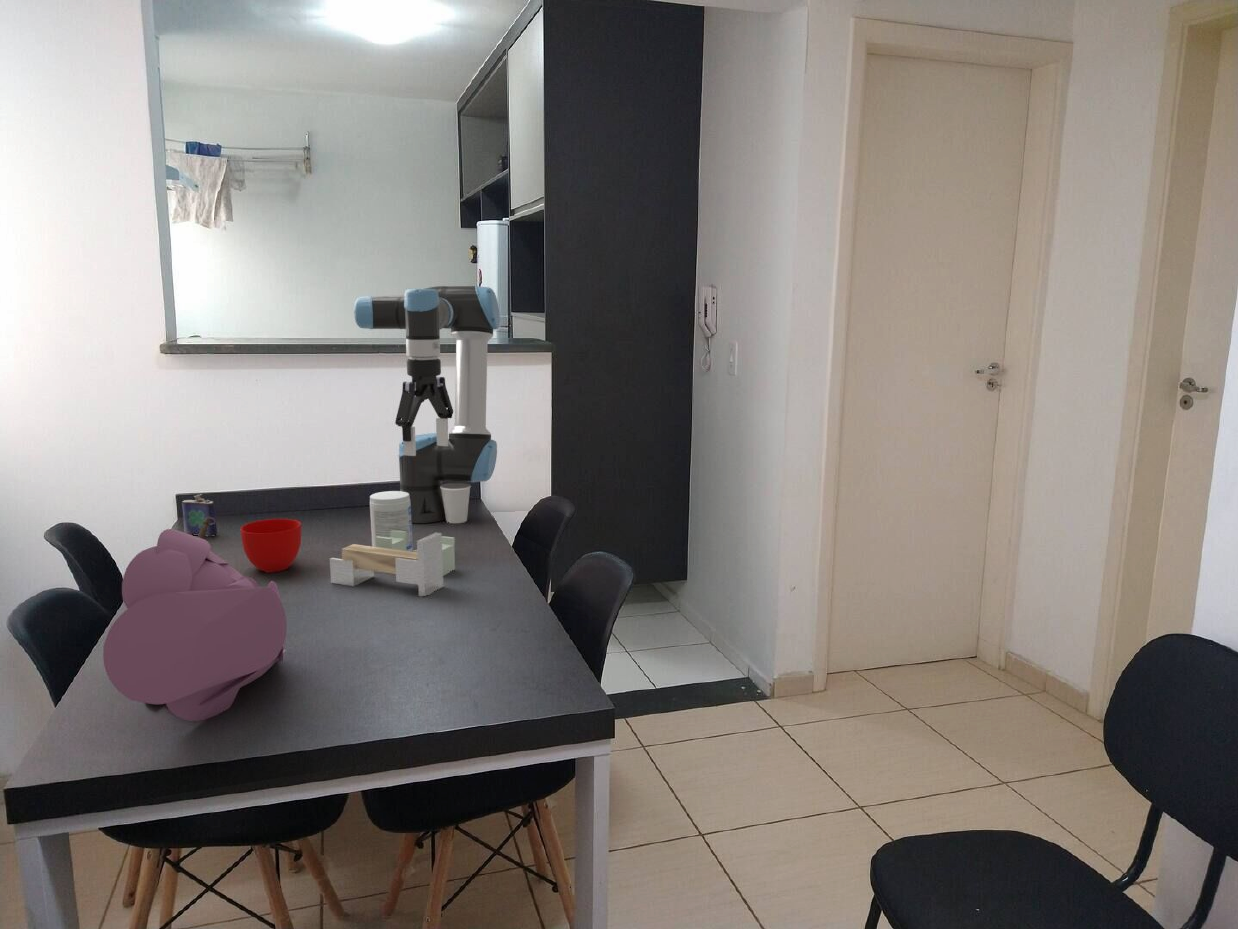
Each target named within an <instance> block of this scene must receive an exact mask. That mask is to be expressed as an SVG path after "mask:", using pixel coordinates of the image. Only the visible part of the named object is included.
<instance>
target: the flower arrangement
mask: <svg viewBox="0 0 1238 929" xmlns="http://www.w3.org/2000/svg"><path fill="white" fill-rule="evenodd" d="M211 548H212V546H211V543H209V542H208V540H206V539H205V538H203V539H202V538H199V537H198V536H193V535H190V534H187V533H184V532H183V531H179V530H177V529H173V528H167V529H164V530H162V532H160V534H159V535H158V538H157V542H156V546H152V547H148V548H146V549H143V550H141V551H140V552H137V554H136V555H135V556H134V557H133V558H132V559H131V561H130V562H129V563H128V565H127V567H126V568H125V572H124V574H123V578H122V582H121V596H122V601H123V604H124V605H125V608H126V610H125V611H123V613H121V614H120V616H119V617H117V619H115V621H114V623H113V624H112V625H111V627H110V629H109V630H108V632H107V635H106V638H105V640H104V644H103V653H102V658H103V666H104V670H105V672H106V675H107V677H108V680H109V681H110V682H111V684H112V685H113V686H114V687H115V689H116V690H117V691H118V693H121V695H123V696H124V697H126V698H127V699H128V700H130V701H135V702H137V703H138V702H139V703H142V704H150V705H164V704H165V705H166V707H167V709H168V710H169V711H170V713H171V714H173V715H175V716H176V717H178V718H179V719H181V720H183V721H189V722H201V721H205V720H207V719H210V718H213V717H215V716H218V715H219V713H220V714H222V713H223V711H224V712H225V711H227V710H229V709H230V708H231V706H232V705H233V703H234V702H235V699H236V697H237V695H238V692H239V691H240V688H242V687H244V686H247V685H248V684H250V683H252V682H253V681H255V680H257V679H259V678H260V677H262V676H263V675H265V673H267V671H268V670H269V669H270V668H272V666H273V665H274V664H275V663H276V662H283V661H284V653H286V647H284V644H285V642H286V641H287V640H286V638H287V628H288V627H287V626H288V624H287V615H286V611H285V608H284V606H283V604H282V601H281V597H280V593H279V592H280V591H279V588H278V586H277V584H276V583H275V582H274V581H273V580H272V581H270V582H269V583H268V584H267V586H265V587H264V586H263V587H261V586H260V584H258V582H257V581H256V580H255V579H253V578H252V577H250V576H246V575H243V574H242V573H240V572H239V571H238V570H236V569H235V568H233V567H232V566H231V565H228V564H229V562H228V561H226V560H224V559H223V558H221V557H220V556H218V555H217V554H215V553H214V552H213V551H211ZM221 712H222V713H221Z"/></svg>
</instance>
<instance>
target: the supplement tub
mask: <svg viewBox="0 0 1238 929" xmlns="http://www.w3.org/2000/svg"><path fill="white" fill-rule="evenodd" d="M369 514H370V531H371V533H370V534H371V547H376V543H375V537H376V536H380V537H388V538H389V537H390V531H391V530H396V531H404V532H407V538H406V550H407V551H409V552H413V550H414V548H413V547H414V545H413V527H412V526H413V523H412V522H411V504H410V496H409V493H407V492H402V491H400V490H389V491H380V492H375V493H372V494H371V495H370V496H369Z"/></svg>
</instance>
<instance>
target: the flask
mask: <svg viewBox="0 0 1238 929" xmlns="http://www.w3.org/2000/svg"><path fill="white" fill-rule="evenodd" d="M202 496H203V494H202V493H200V494H197V495H193V498H194V500H193V499H184V500H183V501H181V506H182V516H183V531H184V532H183V533H187V534H199V532H200V529H201V528H202V527H203V523H204V520H205V521H206V518H207V517H210V522H209V526H207V532H206V534H205V535H208V536H212V535H216V534H217V535H218V528H217V527H218V526H217V520H216V510H215V502H214V501H213V500H210V499H207V500H205V499H204V498H203V497H202ZM211 518H213V519H211ZM214 519H215V521H214ZM214 522H215V523H214ZM212 523H214V524H212ZM210 524H211V525H210ZM208 536H207V537H208Z"/></svg>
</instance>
